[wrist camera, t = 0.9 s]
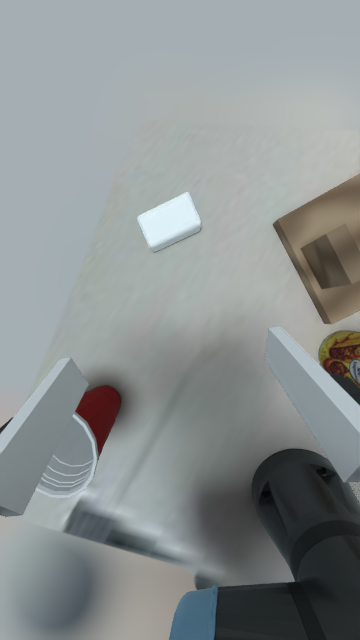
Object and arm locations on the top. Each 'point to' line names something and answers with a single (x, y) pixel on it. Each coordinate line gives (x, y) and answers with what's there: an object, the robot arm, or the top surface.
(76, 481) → the plastic cup
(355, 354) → the canned food
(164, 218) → the soap
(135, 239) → the top surface
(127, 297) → the top surface
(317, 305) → the slotted stand
